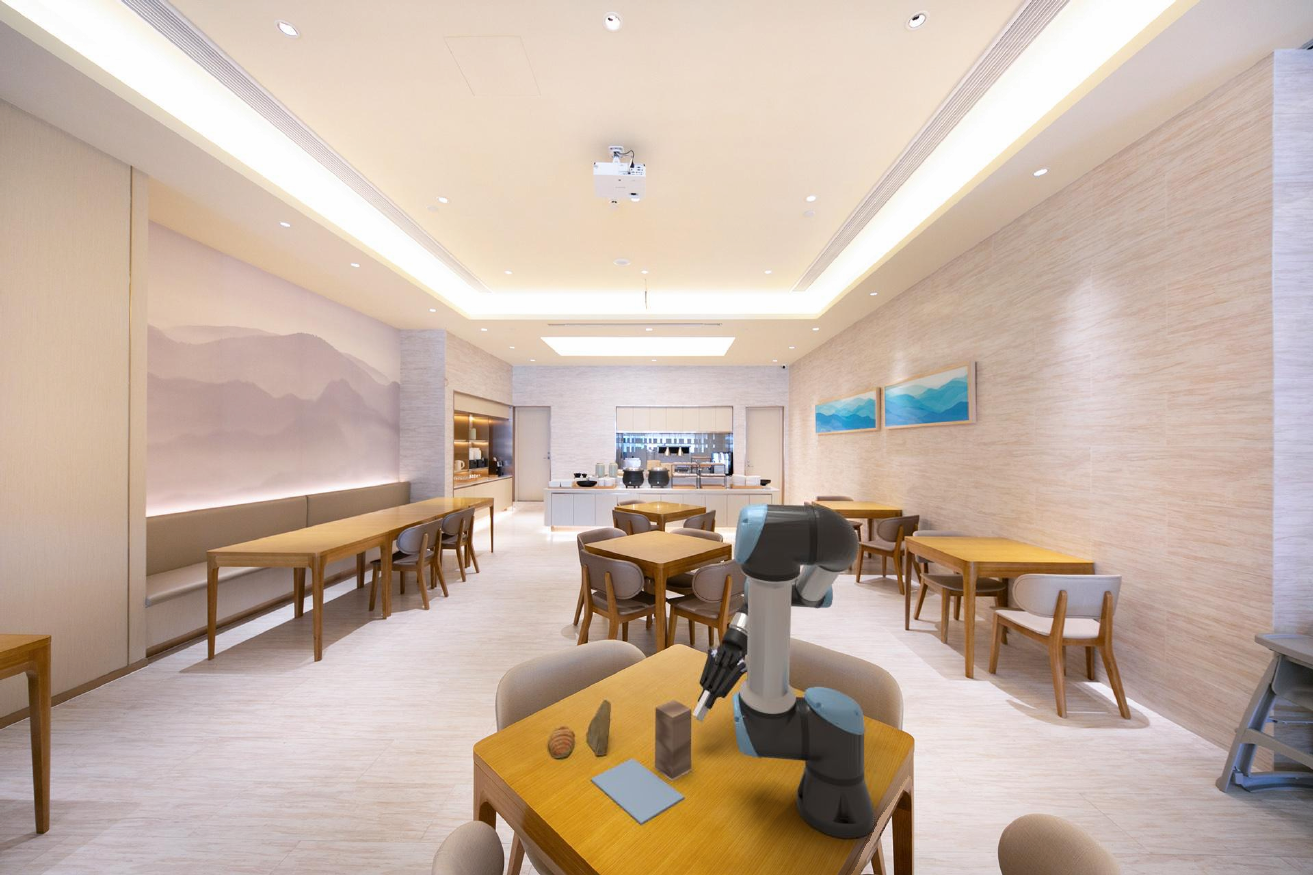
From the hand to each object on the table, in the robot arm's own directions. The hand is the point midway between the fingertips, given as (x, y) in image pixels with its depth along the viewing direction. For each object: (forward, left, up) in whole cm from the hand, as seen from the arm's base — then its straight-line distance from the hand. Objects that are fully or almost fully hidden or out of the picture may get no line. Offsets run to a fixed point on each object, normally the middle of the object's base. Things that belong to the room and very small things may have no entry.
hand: (697, 718), depth 122 cm
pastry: (+25, +23, -10) cm, 35 cm away
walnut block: (0, +8, -9) cm, 12 cm away
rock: (+20, +16, -9) cm, 27 cm away
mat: (0, +19, -9) cm, 21 cm away
